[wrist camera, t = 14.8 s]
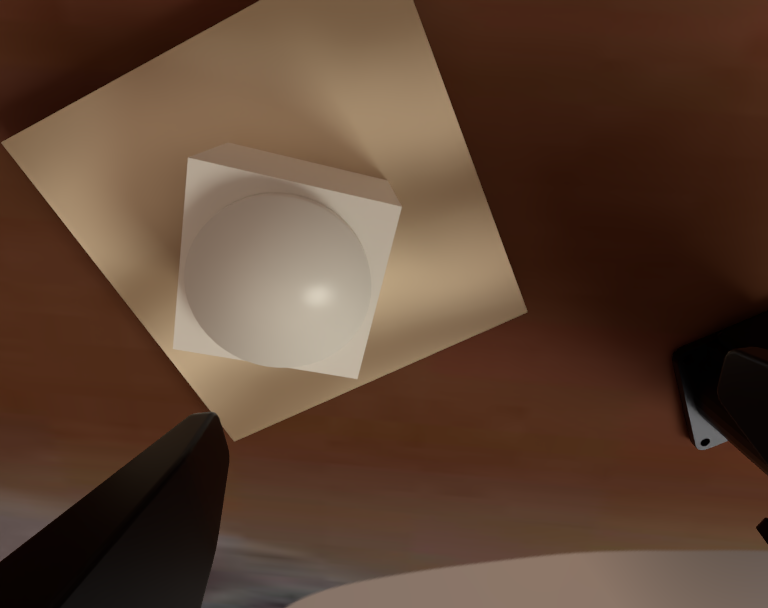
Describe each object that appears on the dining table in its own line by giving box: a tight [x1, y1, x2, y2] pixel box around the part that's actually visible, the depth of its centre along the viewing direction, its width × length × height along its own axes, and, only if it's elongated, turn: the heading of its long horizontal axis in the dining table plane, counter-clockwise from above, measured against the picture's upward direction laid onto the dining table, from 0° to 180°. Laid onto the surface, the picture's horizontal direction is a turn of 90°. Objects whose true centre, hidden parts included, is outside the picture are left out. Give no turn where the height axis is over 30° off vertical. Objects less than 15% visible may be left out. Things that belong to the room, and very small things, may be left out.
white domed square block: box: [173, 142, 402, 379], centre depth 15 cm, size 6×6×5 cm
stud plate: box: [1, 0, 527, 441], centre depth 16 cm, size 14×14×4 cm
